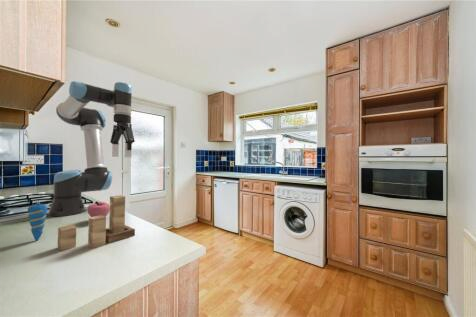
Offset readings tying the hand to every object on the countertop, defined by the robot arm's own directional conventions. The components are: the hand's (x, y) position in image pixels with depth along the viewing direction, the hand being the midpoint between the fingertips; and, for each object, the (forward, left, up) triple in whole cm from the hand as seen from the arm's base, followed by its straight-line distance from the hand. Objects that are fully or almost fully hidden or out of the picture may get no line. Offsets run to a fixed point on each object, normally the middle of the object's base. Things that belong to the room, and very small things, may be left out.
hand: (121, 157), depth 100 cm
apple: (-7, -7, -32) cm, 33 cm away
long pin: (+20, -10, -32) cm, 39 cm away
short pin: (+17, -25, -32) cm, 44 cm away
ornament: (+2, -30, -32) cm, 44 cm away
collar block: (+20, -10, -32) cm, 39 cm away
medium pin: (+23, -18, -32) cm, 43 cm away
